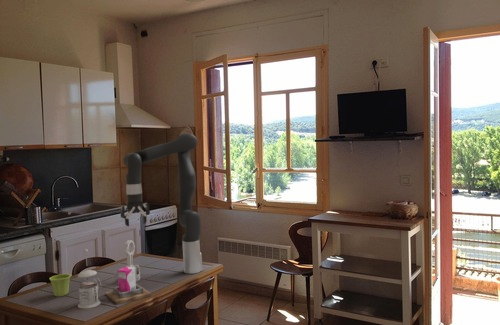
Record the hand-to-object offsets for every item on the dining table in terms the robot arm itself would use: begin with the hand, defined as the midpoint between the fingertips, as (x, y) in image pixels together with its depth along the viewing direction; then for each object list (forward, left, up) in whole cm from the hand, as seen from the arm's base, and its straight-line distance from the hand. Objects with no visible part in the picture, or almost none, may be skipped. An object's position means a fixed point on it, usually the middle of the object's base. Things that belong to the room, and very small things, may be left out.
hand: (136, 224), depth 215 cm
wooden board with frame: (+10, +13, -30) cm, 34 cm away
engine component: (+1, -10, -30) cm, 32 cm away
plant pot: (+35, -10, -30) cm, 47 cm away
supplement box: (+10, +13, -29) cm, 33 cm away
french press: (+27, +13, -30) cm, 43 cm away
